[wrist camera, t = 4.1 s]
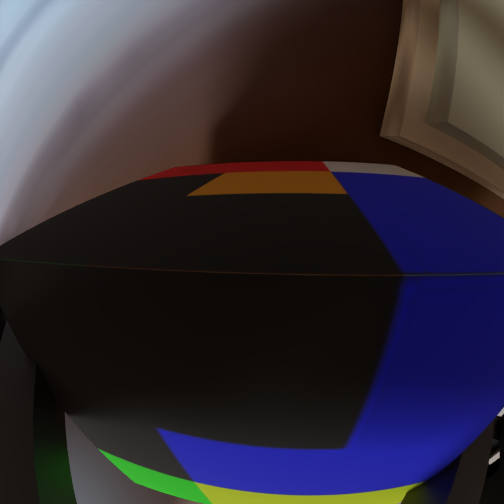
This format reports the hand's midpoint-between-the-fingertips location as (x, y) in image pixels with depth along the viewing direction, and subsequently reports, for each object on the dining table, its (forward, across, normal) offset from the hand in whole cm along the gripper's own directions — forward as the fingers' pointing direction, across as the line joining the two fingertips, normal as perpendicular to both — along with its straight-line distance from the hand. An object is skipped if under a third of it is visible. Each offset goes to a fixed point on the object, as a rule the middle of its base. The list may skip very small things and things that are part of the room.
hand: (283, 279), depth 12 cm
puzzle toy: (+1, 0, 0) cm, 1 cm away
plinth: (+3, +10, +14) cm, 18 cm away
